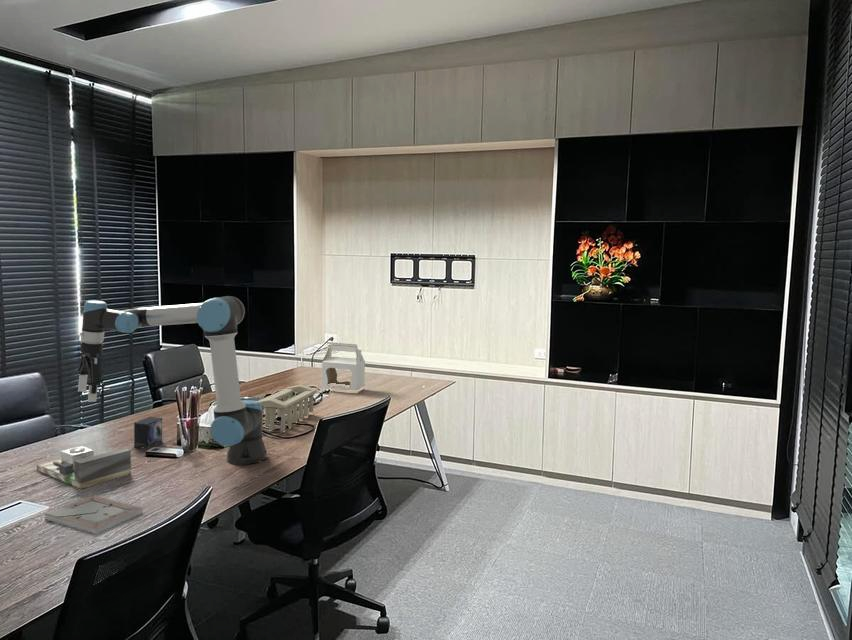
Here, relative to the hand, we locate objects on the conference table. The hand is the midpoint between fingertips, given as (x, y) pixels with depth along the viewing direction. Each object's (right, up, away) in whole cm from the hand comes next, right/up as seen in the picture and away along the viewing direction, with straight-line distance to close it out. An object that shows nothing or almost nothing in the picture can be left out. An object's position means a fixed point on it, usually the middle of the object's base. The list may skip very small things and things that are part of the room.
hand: (86, 396), depth 240 cm
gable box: (+80, -13, +133) cm, 156 cm away
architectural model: (+62, -20, +63) cm, 91 cm away
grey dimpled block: (0, -24, -11) cm, 26 cm away
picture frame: (+27, -32, -46) cm, 63 cm away
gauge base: (+5, -26, -11) cm, 29 cm away
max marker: (+3, -25, -18) cm, 31 cm away
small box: (+13, -23, +23) cm, 35 cm away
